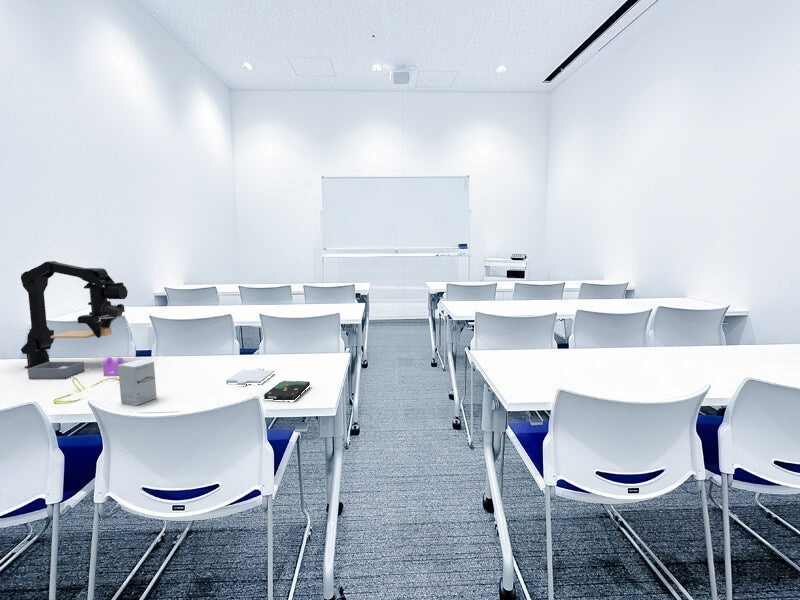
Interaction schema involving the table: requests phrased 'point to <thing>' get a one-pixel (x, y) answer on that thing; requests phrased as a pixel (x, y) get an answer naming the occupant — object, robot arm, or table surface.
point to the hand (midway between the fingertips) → (102, 336)
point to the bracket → (111, 366)
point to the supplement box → (137, 382)
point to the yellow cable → (79, 390)
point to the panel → (56, 370)
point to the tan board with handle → (82, 334)
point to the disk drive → (286, 390)
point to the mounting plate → (250, 376)
